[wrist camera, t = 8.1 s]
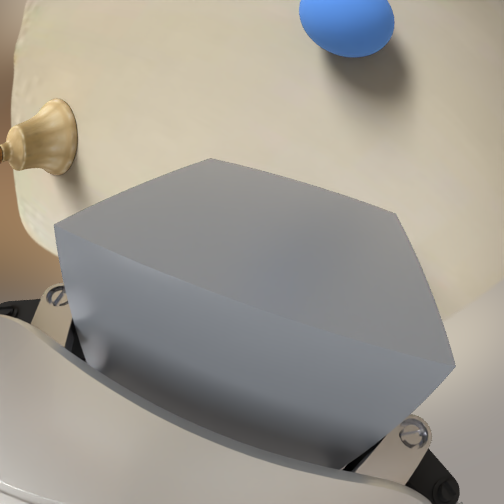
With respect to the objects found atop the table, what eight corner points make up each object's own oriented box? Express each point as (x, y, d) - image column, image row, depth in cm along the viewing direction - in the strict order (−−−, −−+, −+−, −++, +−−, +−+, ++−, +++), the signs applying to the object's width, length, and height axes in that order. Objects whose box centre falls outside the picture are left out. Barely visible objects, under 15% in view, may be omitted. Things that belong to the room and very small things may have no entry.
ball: (313, -10, 12) (299, -47, 7) (392, 9, 11) (405, -24, 6) (299, 54, 14) (282, 32, 10) (380, 75, 13) (393, 59, 9)
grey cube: (210, 158, 11) (53, 224, 5) (395, 213, 10) (455, 366, 3) (192, 302, 15) (107, 411, 9) (331, 351, 14) (302, 491, 7)
